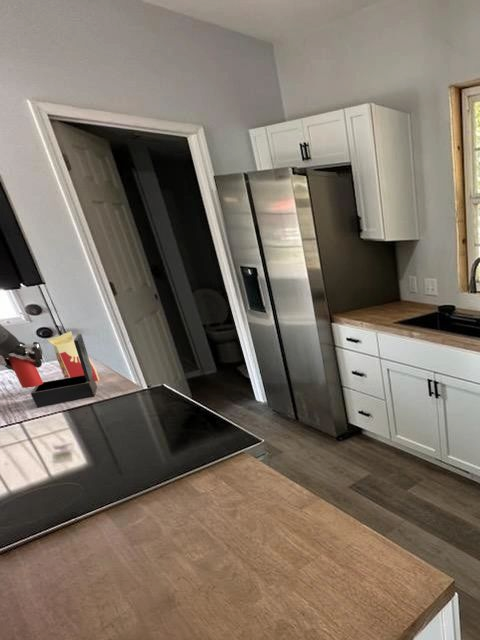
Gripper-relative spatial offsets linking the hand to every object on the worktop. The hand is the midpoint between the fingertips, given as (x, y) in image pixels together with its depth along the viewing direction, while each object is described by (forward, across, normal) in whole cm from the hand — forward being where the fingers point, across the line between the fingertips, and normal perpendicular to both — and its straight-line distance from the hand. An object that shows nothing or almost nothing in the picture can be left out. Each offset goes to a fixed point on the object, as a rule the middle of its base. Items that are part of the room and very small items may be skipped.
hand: (27, 366), depth 125 cm
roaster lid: (+12, -8, -9) cm, 17 cm away
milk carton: (+34, 0, -12) cm, 36 cm away
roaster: (+21, -1, +1) cm, 21 cm away
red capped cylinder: (+3, 0, +5) cm, 6 cm away
